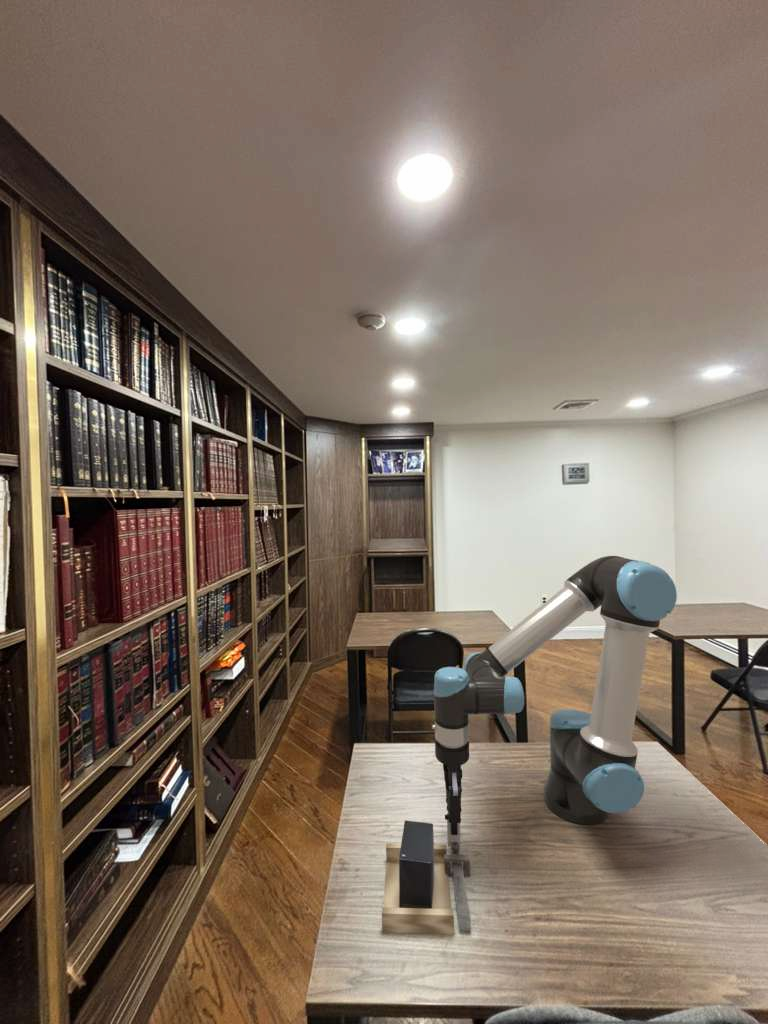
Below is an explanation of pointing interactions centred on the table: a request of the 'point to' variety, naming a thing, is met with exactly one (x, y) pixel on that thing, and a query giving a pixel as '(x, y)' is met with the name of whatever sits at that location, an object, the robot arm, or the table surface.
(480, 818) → the table surface
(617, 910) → the table surface
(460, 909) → the lock bolt
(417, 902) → the small box
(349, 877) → the table surface
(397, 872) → the cradle
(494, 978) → the table surface
